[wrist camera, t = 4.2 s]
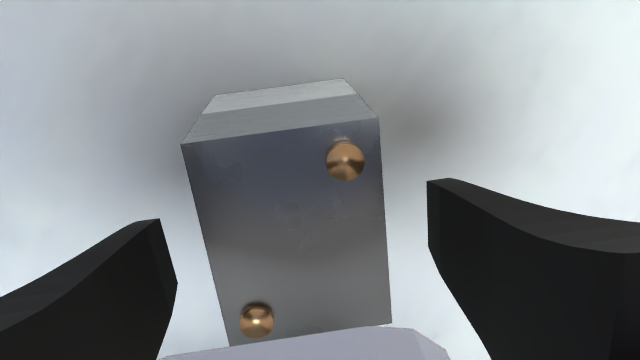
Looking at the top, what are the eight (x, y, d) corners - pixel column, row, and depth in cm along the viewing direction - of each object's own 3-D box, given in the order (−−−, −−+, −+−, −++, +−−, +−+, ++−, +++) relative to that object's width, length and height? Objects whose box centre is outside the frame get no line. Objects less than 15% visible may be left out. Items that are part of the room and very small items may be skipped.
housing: (244, 241, 18) (229, 356, 12) (214, 95, 16) (177, 148, 10) (356, 225, 18) (394, 330, 12) (342, 77, 16) (380, 120, 10)
